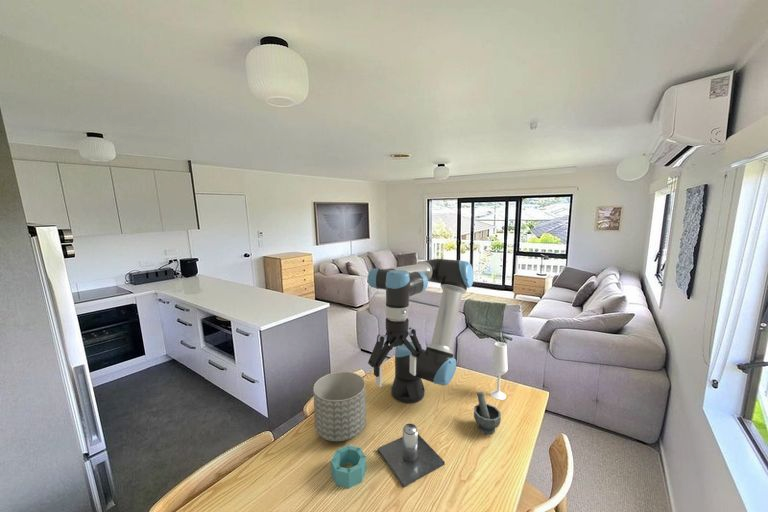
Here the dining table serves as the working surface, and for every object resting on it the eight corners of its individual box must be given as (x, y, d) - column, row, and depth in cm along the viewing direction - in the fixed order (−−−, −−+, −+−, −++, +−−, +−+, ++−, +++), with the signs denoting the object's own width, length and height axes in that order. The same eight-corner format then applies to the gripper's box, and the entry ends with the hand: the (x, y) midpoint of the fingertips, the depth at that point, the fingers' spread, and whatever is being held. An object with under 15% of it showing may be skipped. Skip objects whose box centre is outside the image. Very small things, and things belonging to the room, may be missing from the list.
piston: (377, 450, 101) (377, 422, 99) (415, 433, 109) (415, 406, 107) (403, 487, 87) (403, 454, 86) (444, 464, 95) (445, 434, 94)
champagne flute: (507, 393, 133) (510, 343, 129) (504, 401, 127) (507, 349, 124) (492, 389, 136) (494, 339, 133) (488, 396, 131) (490, 345, 127)
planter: (373, 418, 117) (372, 376, 114) (353, 455, 99) (352, 405, 96) (331, 408, 123) (329, 368, 120) (304, 441, 105) (302, 394, 103)
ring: (328, 467, 94) (327, 453, 93) (356, 455, 99) (356, 441, 98) (339, 493, 85) (339, 477, 85) (370, 477, 90) (370, 463, 90)
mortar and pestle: (505, 435, 107) (507, 405, 106) (482, 440, 105) (484, 409, 104) (487, 415, 118) (489, 387, 117) (466, 419, 116) (467, 391, 114)
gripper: (368, 328, 86) (368, 396, 89) (434, 314, 99) (432, 374, 101) (357, 320, 92) (357, 384, 95) (420, 309, 105) (418, 365, 108)
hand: (396, 379), depth 98 cm, fingers open, 13 cm apart
